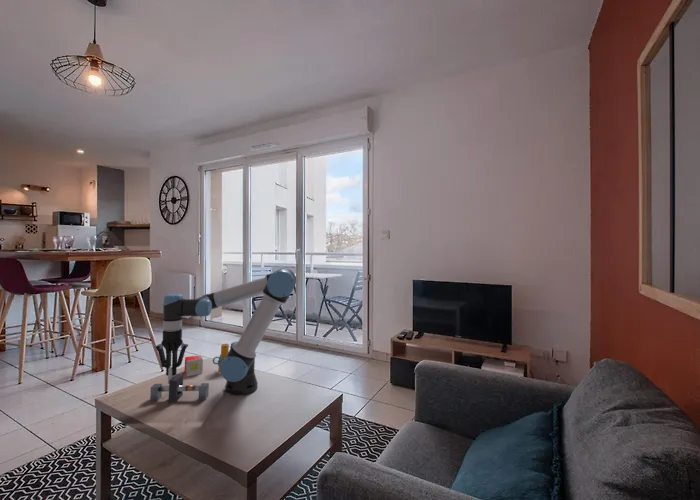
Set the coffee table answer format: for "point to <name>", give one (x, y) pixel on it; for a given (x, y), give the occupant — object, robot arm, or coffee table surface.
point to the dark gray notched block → (175, 388)
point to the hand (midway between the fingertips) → (171, 382)
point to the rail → (158, 389)
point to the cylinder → (222, 355)
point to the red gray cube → (193, 365)
